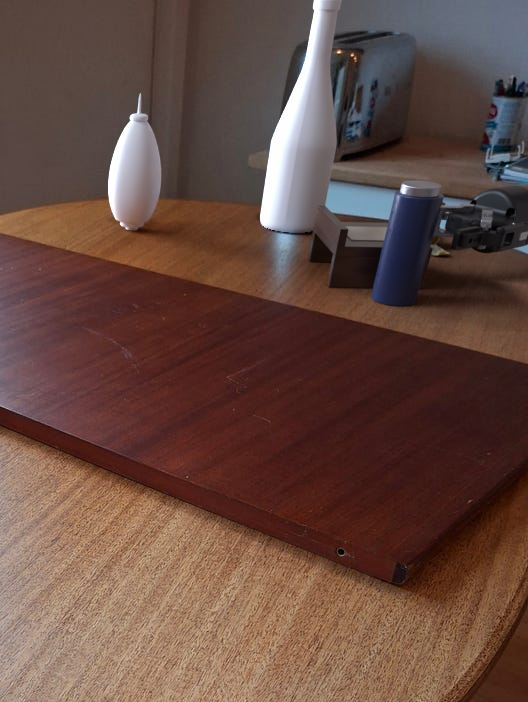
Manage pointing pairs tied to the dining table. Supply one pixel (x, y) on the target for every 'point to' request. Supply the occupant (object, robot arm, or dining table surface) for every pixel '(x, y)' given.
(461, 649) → the dining table surface
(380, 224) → the shoe shelf
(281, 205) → the wine bottle
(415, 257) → the navy blue cylinder
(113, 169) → the air blower bulb
